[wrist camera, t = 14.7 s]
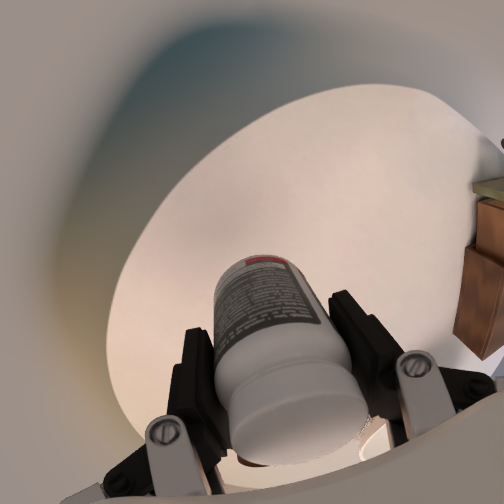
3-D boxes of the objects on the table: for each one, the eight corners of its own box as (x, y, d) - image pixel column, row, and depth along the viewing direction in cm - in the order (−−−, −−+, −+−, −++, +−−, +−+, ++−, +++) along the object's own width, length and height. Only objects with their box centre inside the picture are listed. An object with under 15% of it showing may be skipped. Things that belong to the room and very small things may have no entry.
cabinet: (465, 247, 31) (507, 269, 23) (511, 227, 31) (547, 242, 23) (452, 333, 36) (482, 361, 28) (499, 303, 37) (527, 324, 29)
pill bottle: (197, 309, 14) (185, 456, 6) (247, 234, 13) (287, 360, 5) (271, 344, 15) (306, 476, 8) (324, 280, 14) (407, 401, 6)
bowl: (352, 447, 44) (362, 472, 38) (339, 402, 37) (354, 434, 31) (432, 404, 44) (446, 425, 37) (440, 347, 37) (463, 370, 31)
